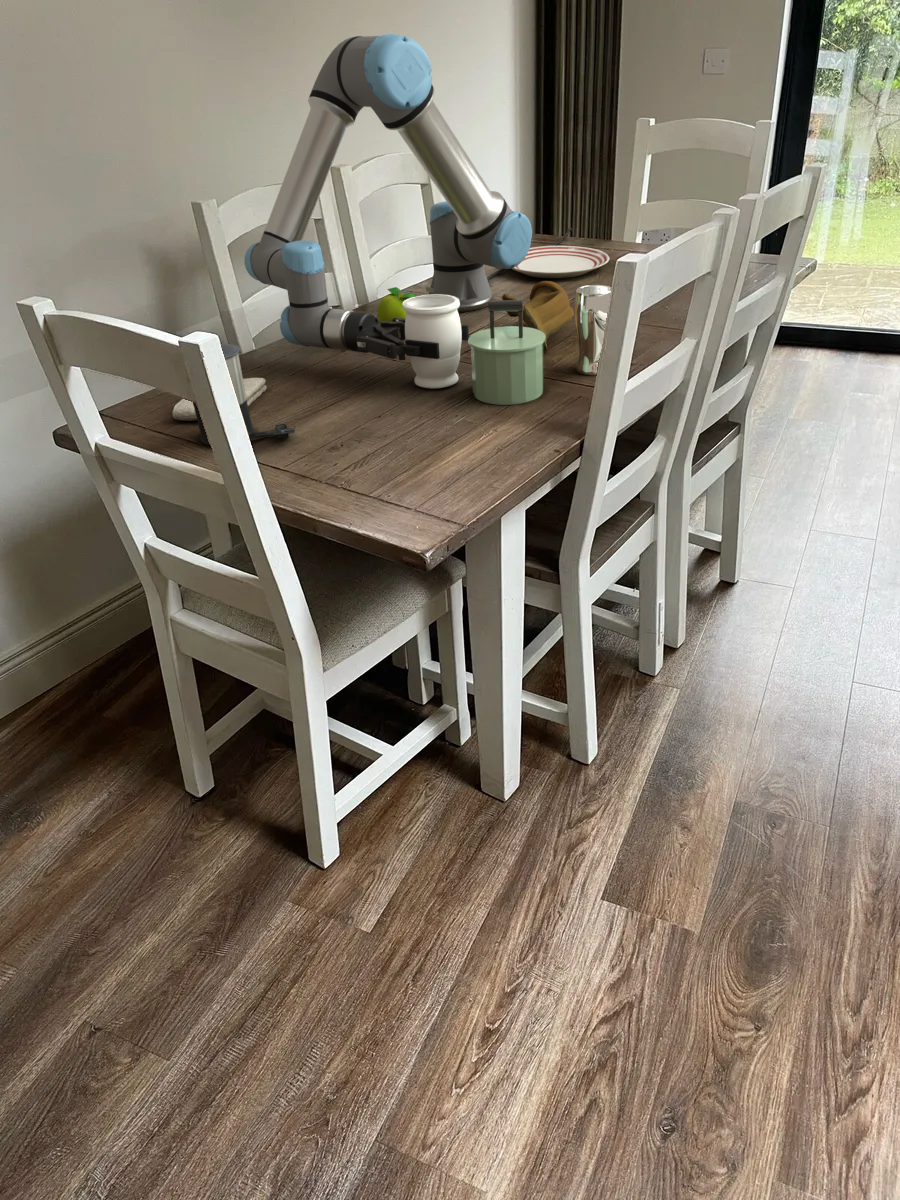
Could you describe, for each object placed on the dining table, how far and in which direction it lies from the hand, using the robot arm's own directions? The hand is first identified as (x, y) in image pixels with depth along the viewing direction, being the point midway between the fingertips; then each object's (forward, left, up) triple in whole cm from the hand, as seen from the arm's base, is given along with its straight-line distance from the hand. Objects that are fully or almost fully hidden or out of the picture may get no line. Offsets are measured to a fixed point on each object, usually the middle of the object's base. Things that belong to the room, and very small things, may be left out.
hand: (453, 341), depth 168 cm
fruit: (-23, -26, -8) cm, 36 cm away
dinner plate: (-86, -17, -8) cm, 88 cm away
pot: (0, +11, -8) cm, 14 cm away
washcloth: (+24, -36, -8) cm, 44 cm away
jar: (0, -4, -8) cm, 9 cm away
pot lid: (0, +11, +1) cm, 11 cm away
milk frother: (+35, -21, -8) cm, 42 cm away
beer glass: (-16, +21, -8) cm, 28 cm away
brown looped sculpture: (-29, +4, -8) cm, 31 cm away
